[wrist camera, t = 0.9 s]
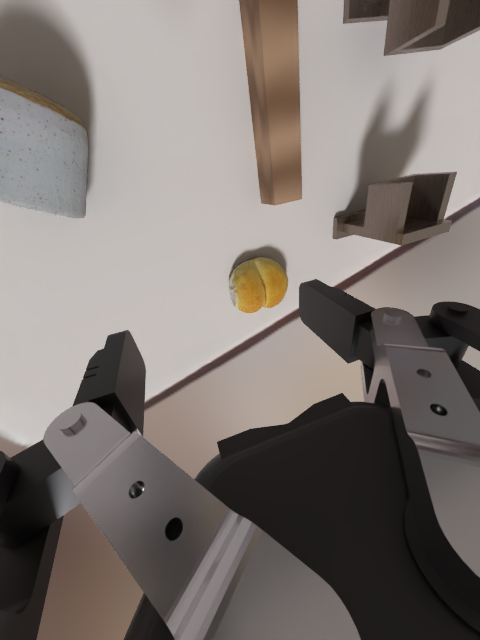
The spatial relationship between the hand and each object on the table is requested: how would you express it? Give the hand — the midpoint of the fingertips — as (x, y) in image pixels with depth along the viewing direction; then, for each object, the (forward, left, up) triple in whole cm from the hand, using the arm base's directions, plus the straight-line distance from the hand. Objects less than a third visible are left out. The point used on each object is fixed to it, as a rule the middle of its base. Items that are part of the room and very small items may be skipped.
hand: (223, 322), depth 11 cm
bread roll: (+9, +9, -23) cm, 26 cm away
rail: (-11, +13, -23) cm, 28 cm away
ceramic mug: (-10, -11, -23) cm, 27 cm away
